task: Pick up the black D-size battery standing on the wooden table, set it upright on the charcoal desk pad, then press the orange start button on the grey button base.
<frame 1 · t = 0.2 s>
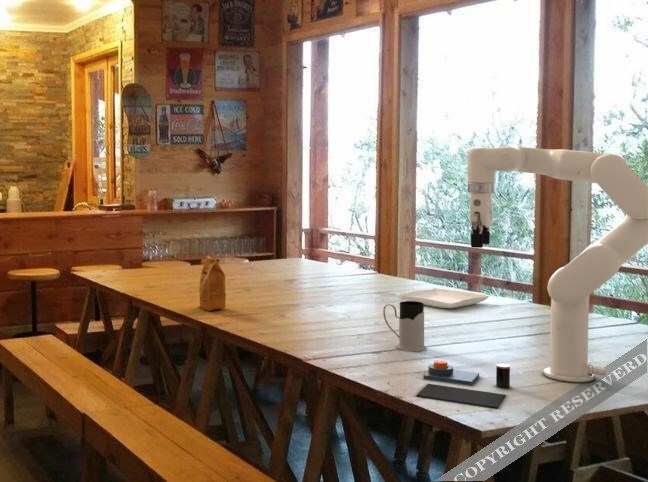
hand: (480, 245, 237), 37 cm above the table, tool pointing down, fingers open, 9 cm apart
battery: (502, 387, 217), on the table
desk pad: (460, 396, 210), on the table
square plate: (442, 303, 336), on the table
start button: (440, 364, 228), point 4 cm above the table, slide at 0.2 cm
grey button base: (451, 378, 226), on the table
coffee package: (212, 308, 335), on the table
glass holder: (403, 347, 263), on the table
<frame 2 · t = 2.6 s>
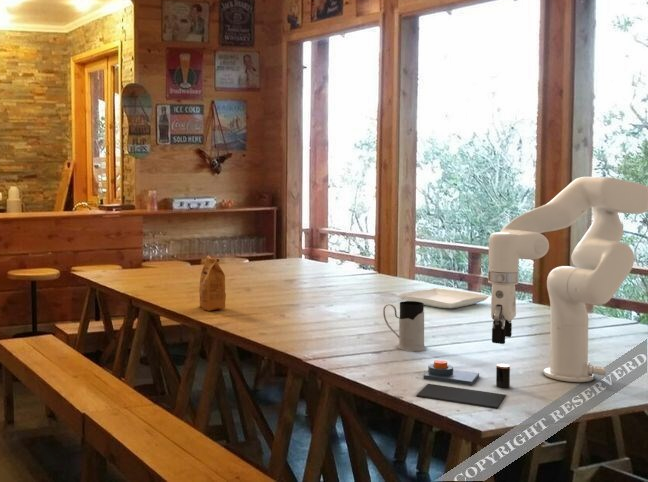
hand: (501, 339, 216), 13 cm above the table, tool pointing down, fingers open, 9 cm apart
nothing on the table moved.
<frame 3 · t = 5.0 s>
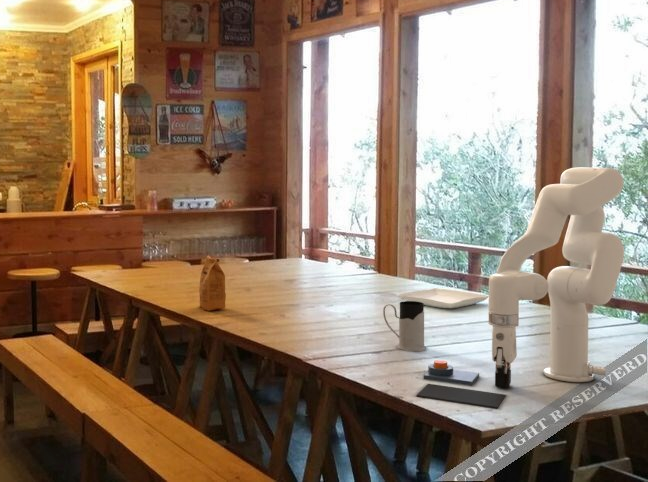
hand: (502, 384, 217), 1 cm above the table, tool pointing down, fingers closed on battery, 3 cm apart
battery: (502, 387, 217), on the table, touching gripper
everything else where it was.
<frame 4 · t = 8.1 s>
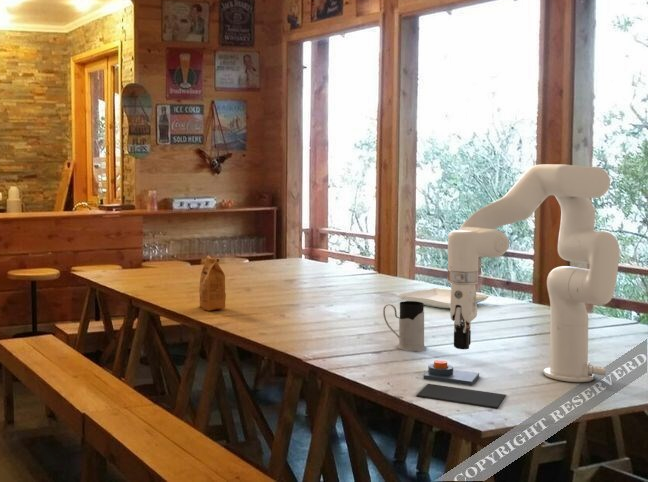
hand: (462, 345, 209), 14 cm above the table, tool pointing down, fingers closed on battery, 3 cm apart
battery: (462, 347, 209), point 13 cm above the table, touching gripper
everything else where it was.
when the fingers open (1 cm above the table, at t = 11.2 s): battery stays where it is, resting on desk pad.
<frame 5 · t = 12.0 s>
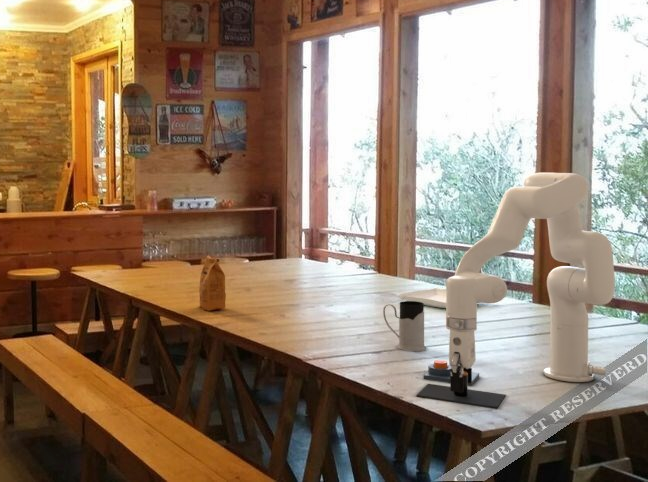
hand: (461, 386, 210), 3 cm above the table, tool pointing down, fingers open, 9 cm apart
battery: (460, 394, 210), resting on desk pad
everything else where it was.
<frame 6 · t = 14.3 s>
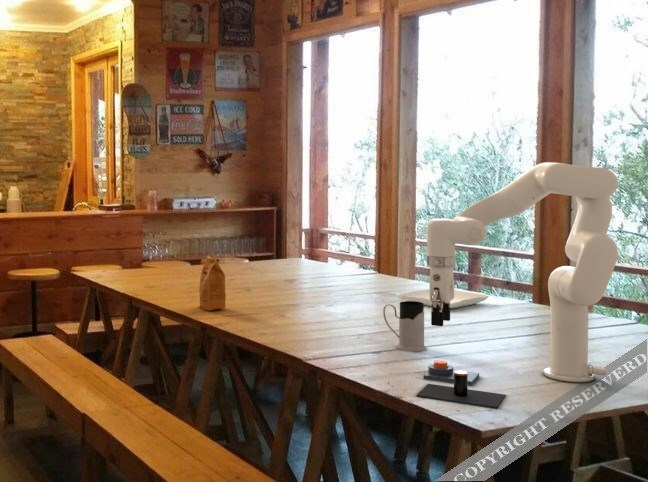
hand: (440, 322, 227), 16 cm above the table, tool pointing down, fingers open, 7 cm apart
nothing on the table moved.
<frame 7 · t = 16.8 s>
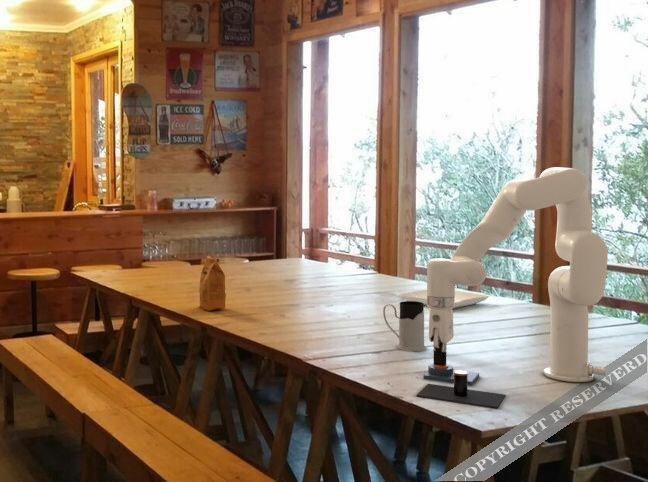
hand: (439, 364, 228), 4 cm above the table, tool pointing down, fingers closed
start button: (440, 367, 228), point 3 cm above the table, slide at -0.7 cm, touching gripper
everything else where it was.
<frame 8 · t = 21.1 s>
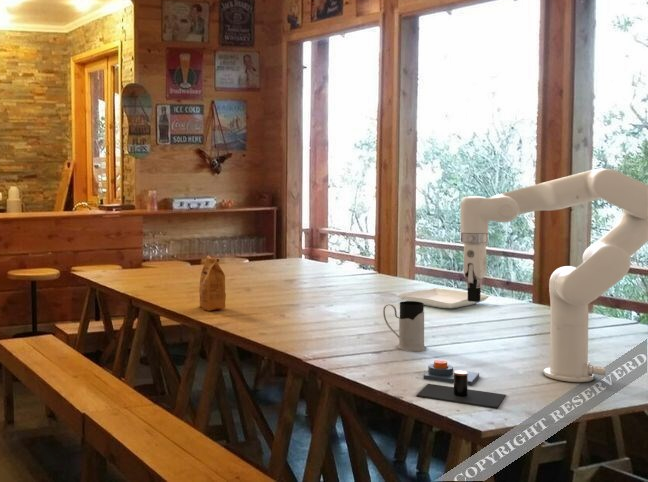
hand: (474, 300, 231), 21 cm above the table, tool pointing down, fingers closed
start button: (440, 364, 228), point 4 cm above the table, slide at 0.2 cm
everything else where it was.
at the end: battery inside the target area on the desk pad (0.1 cm from its centre), point 0.4 cm above the desk pad's base; battery tilted 0°; start button pushed in 1.1 cm at the most during the clip, back to 0.2 cm at the end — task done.
